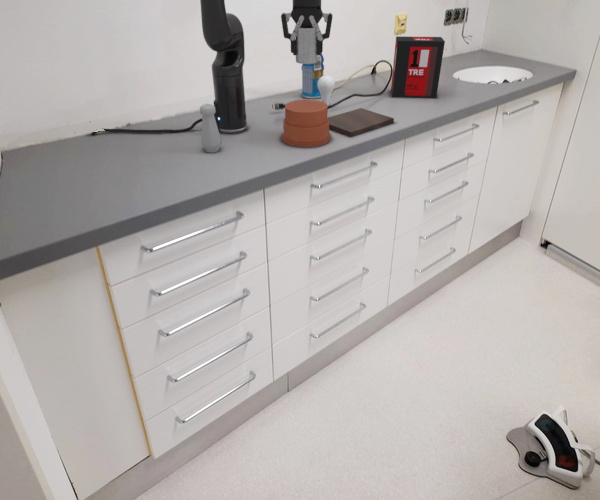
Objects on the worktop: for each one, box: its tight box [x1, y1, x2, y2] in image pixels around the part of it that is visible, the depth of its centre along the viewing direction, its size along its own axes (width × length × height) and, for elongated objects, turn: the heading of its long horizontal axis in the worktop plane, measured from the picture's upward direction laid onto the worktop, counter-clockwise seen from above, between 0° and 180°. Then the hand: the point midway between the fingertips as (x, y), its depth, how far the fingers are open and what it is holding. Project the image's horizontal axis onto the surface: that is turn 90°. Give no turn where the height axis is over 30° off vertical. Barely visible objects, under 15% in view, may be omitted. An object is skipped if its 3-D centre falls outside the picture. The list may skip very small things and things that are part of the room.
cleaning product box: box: [390, 36, 446, 99], centre depth 179 cm, size 16×9×20 cm, turn 84°
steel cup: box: [295, 27, 318, 65], centre depth 130 cm, size 6×6×9 cm
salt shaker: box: [199, 103, 222, 154], centre depth 134 cm, size 6×6×13 cm
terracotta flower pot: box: [281, 99, 332, 148], centre depth 142 cm, size 15×15×10 cm
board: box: [327, 107, 395, 137], centre depth 156 cm, size 20×15×2 cm
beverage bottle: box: [301, 52, 325, 99], centre depth 178 cm, size 8×8×20 cm
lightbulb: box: [317, 74, 336, 107], centre depth 168 cm, size 6×6×11 cm
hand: (306, 54), depth 132 cm, fingers closed on steel cup, 6 cm apart
